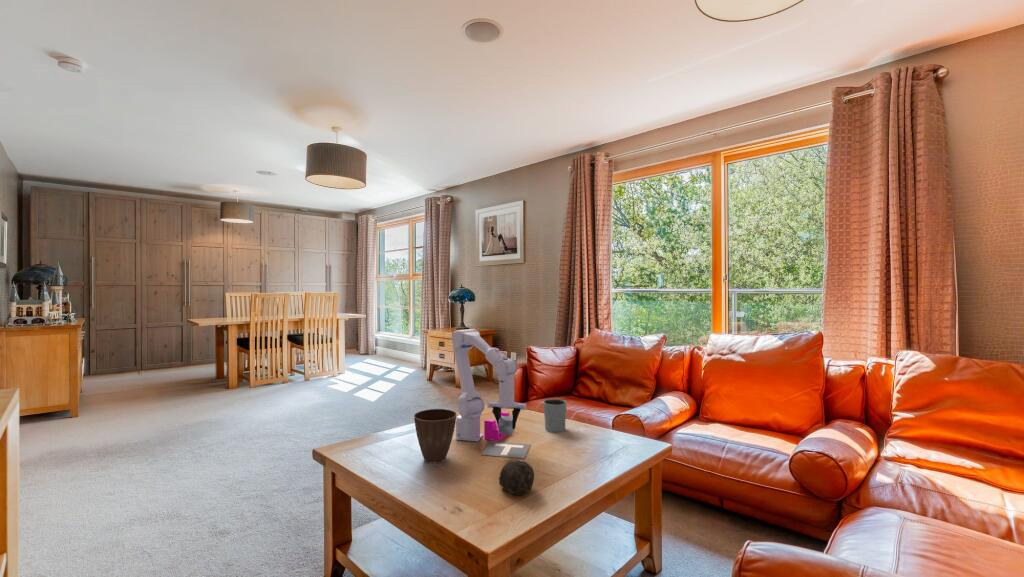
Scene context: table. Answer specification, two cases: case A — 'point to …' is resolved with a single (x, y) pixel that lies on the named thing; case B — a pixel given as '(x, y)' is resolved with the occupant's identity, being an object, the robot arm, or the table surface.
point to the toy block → (493, 429)
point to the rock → (517, 477)
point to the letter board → (506, 450)
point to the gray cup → (555, 415)
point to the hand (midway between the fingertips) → (506, 427)
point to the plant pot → (435, 433)
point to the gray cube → (506, 425)
